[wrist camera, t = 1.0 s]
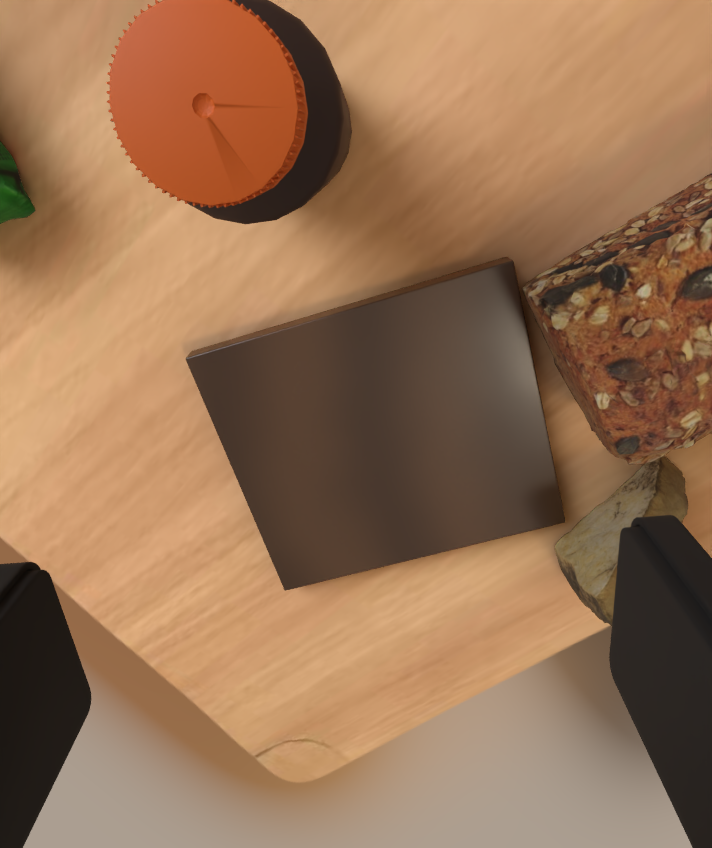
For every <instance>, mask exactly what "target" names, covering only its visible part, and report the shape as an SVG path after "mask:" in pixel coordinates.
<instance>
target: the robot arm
mask: <svg viewBox="0 0 712 848" xmlns="http://www.w3.org/2000/svg"><path fill="white" fill-rule="evenodd" d="M610 668H611V672H612V676H613V679H614V681H615V684H616V686H617V688H618V690H619V692H620V694H621V696H622V699H623V701H624V703H625V705H626V707H627V709H628V711H629V713H630V715H631V718H632V720H633V722H634V724H635V726H636V728H637V730H638V733H639V735H640V737H641V739H642V741H643V743H644V745H645V747H646V749H647V752H648V754H649V756H650V758H651V760H652V762H653V764H654V766H655V768H656V770H657V773H658V775H659V777H660V779H661V781H662V783H663V786H664V788H665V790H666V792H667V794H668V796H669V798H670V800H671V802H672V805H673V807H674V809H675V811H676V813H677V815H678V817H679V819H680V822H681V823H682V826H683V828H684V830H685V832H686V834H687V836H688V839H689V841H690V843H691V845H692V847H693V848H712V558H711V557H710V556H709V555H708V553H707V552H706V551H705V550H704V549H703V548H702V546H701V545H700V544H699V543H698V542H697V541H696V539H695V538H694V537H693V536H692V535H691V534H690V532H689V531H688V530H687V529H686V528H685V526H684V525H683V524H682V523H681V522H680V521H679V519H678V518H676V517H675V516H673V515H662V516H649V517H636V518H635V519H633V521H632V523H631V527H625V528H623V529H622V530H621V533H620V541H619V552H618V564H617V575H616V587H615V598H614V610H613V622H612V634H611V645H610ZM90 705H91V691H90V687H89V684H88V681H87V679H86V676H85V673H84V670H83V668H82V665H81V661H80V659H79V656H78V653H77V650H76V647H75V644H74V642H73V639H72V636H71V633H70V630H69V628H68V625H67V622H66V619H65V616H64V613H63V610H62V608H61V605H60V602H59V599H58V596H57V593H56V591H55V588H54V585H53V582H52V579H51V577H50V575H49V573H48V572H47V571H45V570H40V568H39V566H38V565H37V564H36V563H33V562H25V563H10V564H0V848H23V846H24V844H25V842H26V840H27V838H28V836H29V833H30V831H31V829H32V827H33V825H34V823H35V821H36V819H37V817H38V815H39V813H40V811H41V809H42V807H43V805H44V803H45V801H46V799H47V797H48V795H49V792H50V791H51V789H52V786H53V784H54V782H55V780H56V778H57V776H58V774H59V772H60V770H61V768H62V766H63V764H64V762H65V760H66V758H67V756H68V753H69V752H70V750H71V748H72V745H73V743H74V741H75V739H76V737H77V735H78V733H79V731H80V729H81V727H82V725H83V723H84V721H85V719H86V717H87V715H88V712H89V709H90Z"/></svg>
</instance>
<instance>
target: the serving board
mask: <svg viewBox="0 0 712 848" xmlns="http://www.w3.org/2000/svg"><path fill="white" fill-rule="evenodd" d="M186 361H187V363H188V366H189V368H190V370H191V373H192V375H193V377H194V380H195V382H196V384H197V387H198V389H199V391H200V394H201V396H202V398H203V401H204V403H205V405H206V408H207V410H208V412H209V415H210V417H211V419H212V422H213V424H214V426H215V429H216V431H217V433H218V436H219V438H220V440H221V443H222V445H223V447H224V450H225V452H226V454H227V457H228V459H229V461H230V464H231V466H232V468H233V471H234V473H235V475H236V478H237V480H238V482H239V485H240V487H241V489H242V492H243V494H244V496H245V499H246V501H247V503H248V506H249V508H250V510H251V513H252V515H253V517H254V520H255V522H256V524H257V527H258V529H259V531H260V534H261V536H262V538H263V541H264V543H265V545H266V548H267V550H268V552H269V555H270V557H271V559H272V562H273V564H274V566H275V569H276V571H277V573H278V576H279V578H280V580H281V583H282V585H283V587H284V590H290V589H294V588H298V587H302V586H306V585H310V584H314V583H318V582H322V581H326V580H330V579H335V578H339V577H343V576H347V575H351V574H355V573H359V572H363V571H367V570H371V569H376V568H380V567H384V566H388V565H392V564H396V563H400V562H404V561H408V560H412V559H417V558H421V557H425V556H429V555H433V554H437V553H441V552H445V551H449V550H453V549H458V548H462V547H466V546H470V545H474V544H478V543H482V542H486V541H490V540H494V539H498V538H503V537H507V536H511V535H515V534H519V533H523V532H527V531H531V530H535V529H539V528H544V527H548V526H552V525H556V524H560V523H564V522H565V517H564V512H563V507H562V502H561V497H560V492H559V487H558V482H557V477H556V472H555V467H554V462H553V457H552V452H551V447H550V442H549V437H548V432H547V427H546V422H545V417H544V412H543V407H542V402H541V397H540V392H539V387H538V382H537V377H536V372H535V367H534V362H533V357H532V352H531V347H530V342H529V337H528V332H527V327H526V322H525V317H524V312H523V307H522V302H521V297H520V292H519V287H518V283H517V278H516V273H515V268H514V263H513V261H512V260H511V259H510V258H508V257H505V258H501V259H498V260H495V261H491V262H488V263H485V264H481V265H478V266H474V267H471V268H468V269H464V270H461V271H458V272H454V273H451V274H448V275H444V276H441V277H438V278H434V279H431V280H428V281H424V282H421V283H418V284H414V285H411V286H408V287H404V288H401V289H398V290H394V291H391V292H388V293H384V294H381V295H378V296H374V297H371V298H368V299H364V300H361V301H358V302H354V303H351V304H348V305H344V306H341V307H338V308H334V309H331V310H328V311H324V312H321V313H318V314H314V315H311V316H308V317H304V318H301V319H298V320H294V321H291V322H288V323H284V324H281V325H278V326H274V327H271V328H268V329H264V330H261V331H258V332H254V333H251V334H248V335H244V336H241V337H238V338H234V339H231V340H228V341H224V342H221V343H218V344H214V345H211V346H208V347H204V348H201V349H198V350H194V351H192V352H191V353H190V354H189V355H188V356H187V358H186Z"/></svg>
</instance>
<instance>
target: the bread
mask: <svg viewBox="0 0 712 848" xmlns="http://www.w3.org/2000/svg"><path fill="white" fill-rule="evenodd" d="M522 290H523V292H524V295H525V297H526V300H527V302H528V304H529V306H530V307H531V309H532V311H533V314H534V317H535V320H536V322H537V324H538V325H539V327H540V329H541V331H542V334H543V337H544V339H545V341H546V343H547V345H548V346H549V348H550V350H551V352H552V354H553V356H554V361H555V365H556V366H557V368H558V370H559V372H560V373H561V375H562V377H563V379H564V380H565V382H566V384H567V386H568V388H569V389H570V391H571V393H572V395H573V396H574V398H575V400H576V401H577V403H578V404H579V406H580V408H581V409H582V411H583V413H584V414H585V417H586V419H587V421H588V423H589V425H590V427H591V430H592V431H594V432H596V435H597V436H598V438H599V440H601V442H602V444H603V445H604V446H605V447H606V449H607V450H608V451H609V452H610V453H611V454H613V455H614V456H615V457H618V458H622V459H626V460H627V461H628V464H644V463H648V462H652V461H654V460H656V459H658V458H660V457H662V456H664V455H665V454H667V453H668V452H669V451H670V450H672V449H678V448H682V447H685V448H688V447H690V446H692V445H694V443H695V442H696V441H698V440H699V439H701V438H703V437H704V436H706V435H708V434H710V433H712V174H710V175H707V176H706V177H704V178H703V179H702V180H700V181H699V182H697V183H695V184H692V185H690V186H689V187H688V188H687V189H685V190H683V191H681V192H679V193H678V194H676V195H674V196H672V197H670V198H668V200H666V201H664V202H662V203H660V204H658V205H656V206H655V207H653V208H651V209H650V210H648V211H647V212H645V213H643V214H641V215H638V216H636V217H634V218H633V219H631V220H629V221H628V223H627V224H625V225H624V226H622V227H620V228H618V229H616V230H613V231H610V232H608V233H607V234H605V235H604V236H602V237H601V238H599V239H597V240H596V241H594V242H592V243H590V244H589V245H587V246H585V247H583V248H581V249H580V250H578V251H576V252H575V253H573V254H571V255H570V256H568V257H566V258H564V259H563V260H562V261H560V262H559V263H557V264H556V265H555V266H553V267H552V268H550V269H548V270H546V271H545V272H543V273H541V274H539V275H538V276H536V277H535V278H534V279H533V280H531V281H529V282H528V283H527V284H526V285H525V286H524V287H523V288H522Z"/></svg>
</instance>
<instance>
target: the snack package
mask: <svg viewBox="0 0 712 848" xmlns="http://www.w3.org/2000/svg"><path fill="white" fill-rule="evenodd" d="M33 212H35V208H34V206H33V204H32V202H31V200H30V198H29V197H28V195H27V193H26V192H25V190H24V187H23V185H22V182H21V179H20V175H19V172H18V169H17V166H16V163H15V161H14V159H13V157H12V156H11V154H10V153H9V152H8V150H7V149H6V148H5V146H4V145H3V144H2V143H1V142H0V224H1V223H3V222H5V221H8V220H10V219H16V218H25V217H28V216H29V215H31V214H32V213H33Z"/></svg>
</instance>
